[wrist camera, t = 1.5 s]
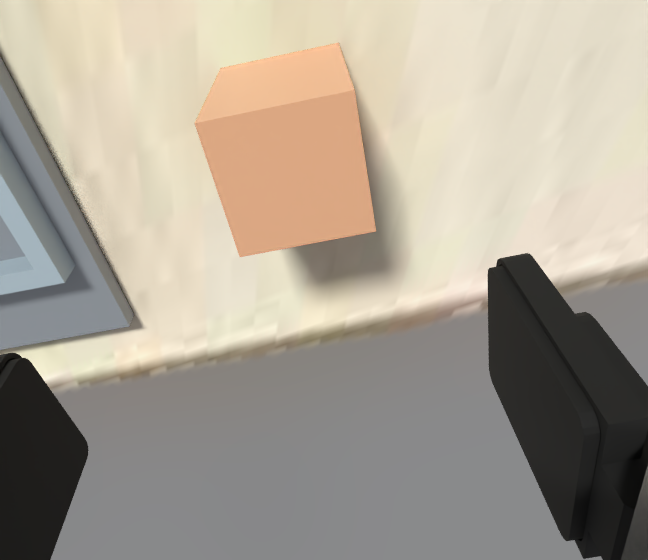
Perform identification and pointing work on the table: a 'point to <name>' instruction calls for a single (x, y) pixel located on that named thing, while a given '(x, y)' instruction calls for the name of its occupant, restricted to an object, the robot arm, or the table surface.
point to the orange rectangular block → (287, 151)
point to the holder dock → (46, 243)
